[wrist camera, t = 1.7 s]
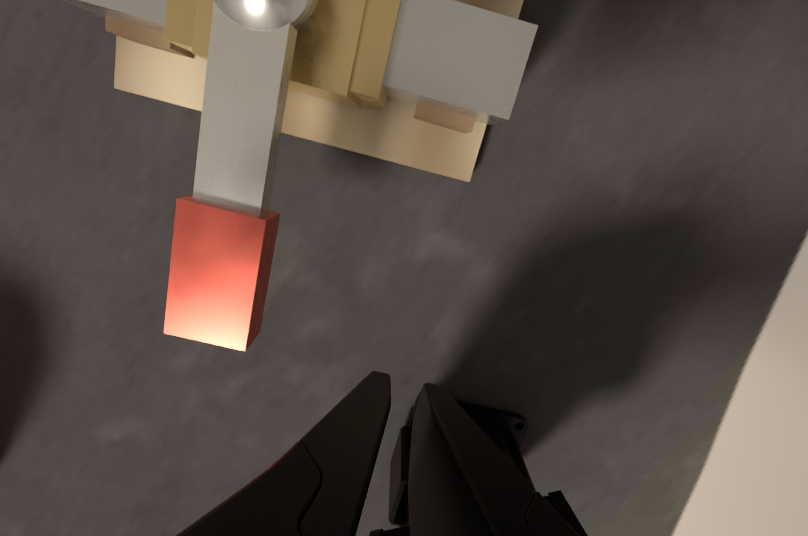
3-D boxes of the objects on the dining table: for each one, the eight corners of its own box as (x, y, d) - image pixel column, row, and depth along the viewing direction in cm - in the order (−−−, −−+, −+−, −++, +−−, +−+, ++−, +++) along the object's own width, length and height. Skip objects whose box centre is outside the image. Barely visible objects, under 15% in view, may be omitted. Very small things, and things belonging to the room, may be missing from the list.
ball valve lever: (228, -88, 11) (202, -121, 10) (330, -57, 11) (319, -86, 10) (183, 315, 14) (160, 332, 13) (262, 332, 14) (248, 352, 13)
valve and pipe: (515, 33, 16) (565, -20, 11) (482, 142, 18) (515, 139, 12) (117, -85, 15) (-29, -203, 10) (111, 41, 17) (-23, -9, 11)
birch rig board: (520, -4, 17) (542, -33, 15) (466, 180, 19) (476, 185, 17) (141, -119, 16) (89, -173, 13) (129, 91, 18) (82, 81, 16)
